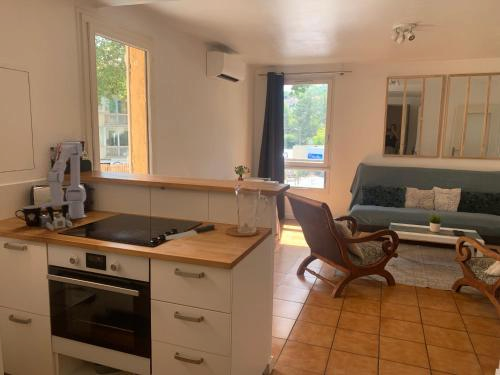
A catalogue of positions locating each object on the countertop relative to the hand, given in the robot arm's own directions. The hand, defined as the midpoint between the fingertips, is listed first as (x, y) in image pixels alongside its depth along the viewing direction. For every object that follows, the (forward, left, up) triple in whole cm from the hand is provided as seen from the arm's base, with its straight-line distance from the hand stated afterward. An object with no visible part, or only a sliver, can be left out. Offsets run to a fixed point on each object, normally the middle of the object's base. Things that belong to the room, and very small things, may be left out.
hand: (58, 220), depth 200 cm
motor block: (-7, 0, -4) cm, 8 cm away
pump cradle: (+1, 0, -4) cm, 4 cm away
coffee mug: (-14, -10, -4) cm, 17 cm away
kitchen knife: (+58, +44, -4) cm, 73 cm away
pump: (0, 0, -4) cm, 4 cm away
